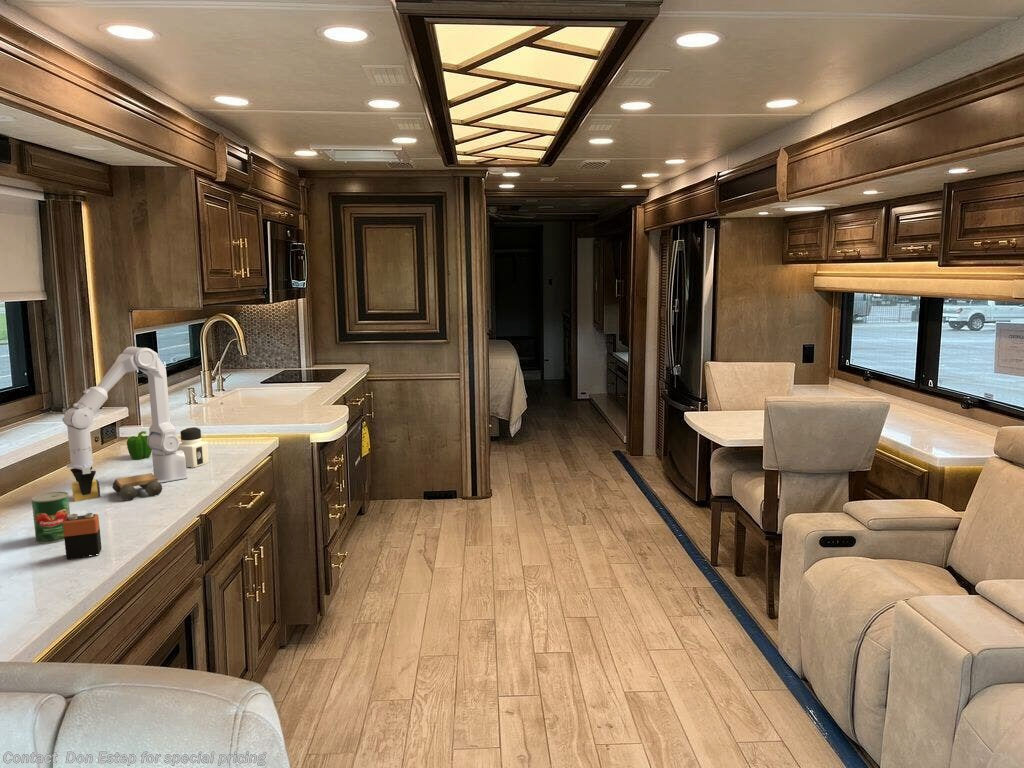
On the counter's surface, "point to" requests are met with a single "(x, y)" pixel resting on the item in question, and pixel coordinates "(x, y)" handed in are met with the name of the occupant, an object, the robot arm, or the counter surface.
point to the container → (193, 447)
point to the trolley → (144, 481)
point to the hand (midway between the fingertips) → (85, 492)
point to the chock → (78, 495)
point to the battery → (82, 535)
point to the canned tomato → (50, 516)
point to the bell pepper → (139, 446)
